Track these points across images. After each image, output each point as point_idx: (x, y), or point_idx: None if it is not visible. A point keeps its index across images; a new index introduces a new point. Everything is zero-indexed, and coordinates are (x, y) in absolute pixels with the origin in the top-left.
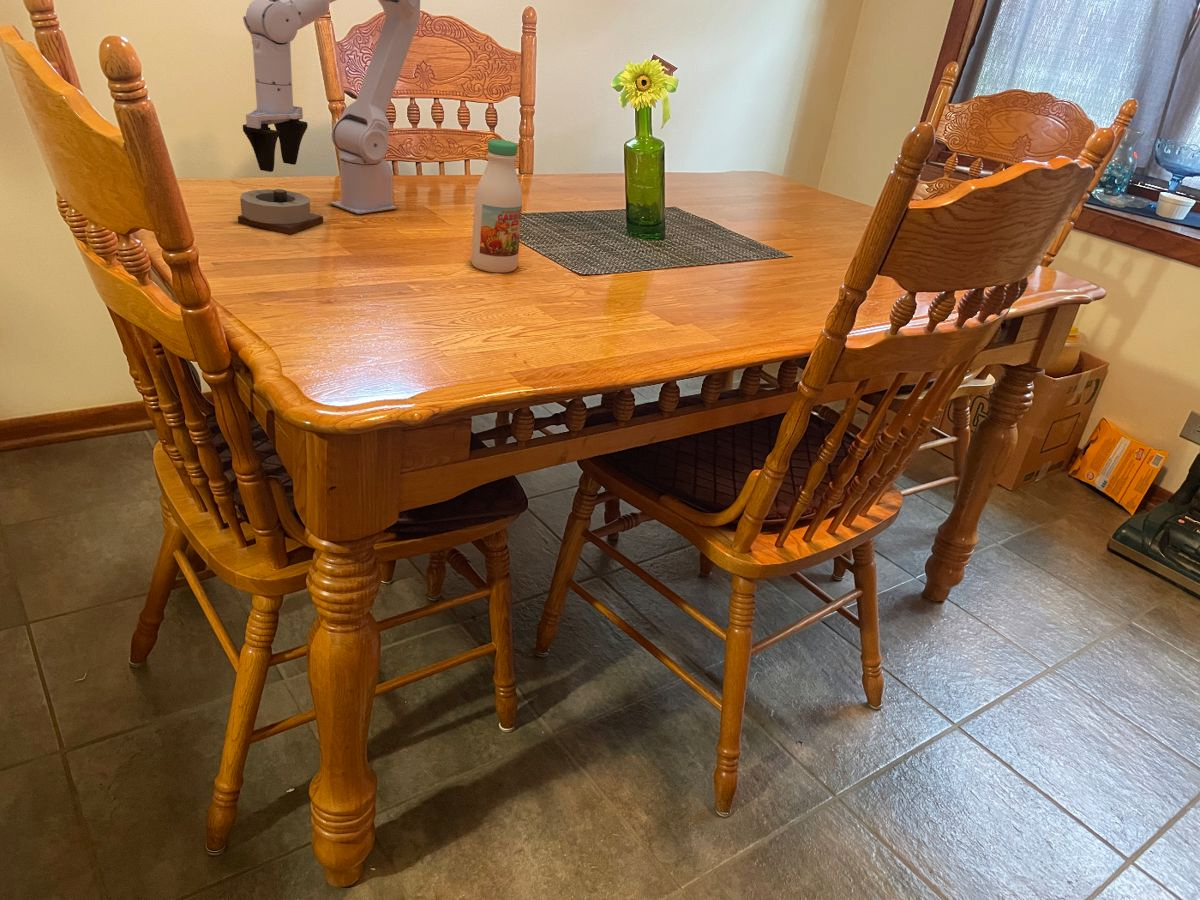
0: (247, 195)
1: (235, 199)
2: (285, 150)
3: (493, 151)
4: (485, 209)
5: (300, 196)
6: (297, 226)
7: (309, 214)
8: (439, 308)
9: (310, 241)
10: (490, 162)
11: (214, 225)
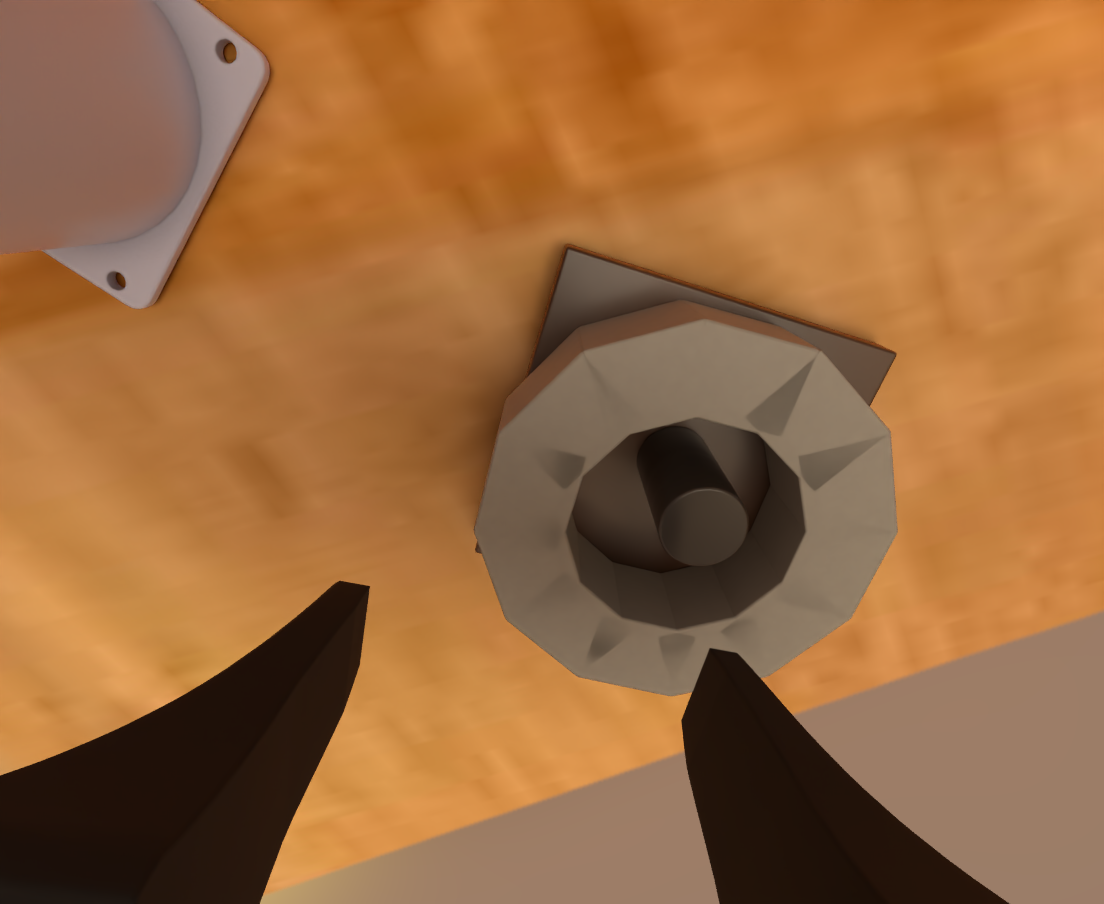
0: None
1: (362, 720)
2: (319, 731)
3: None
4: None
5: (582, 412)
6: (827, 330)
7: (690, 305)
8: None
9: (982, 207)
10: None
11: (811, 667)
